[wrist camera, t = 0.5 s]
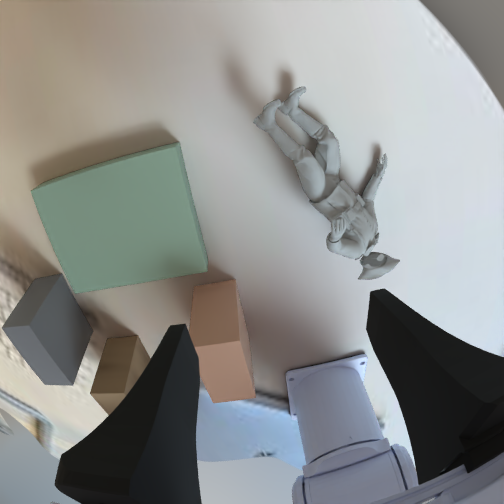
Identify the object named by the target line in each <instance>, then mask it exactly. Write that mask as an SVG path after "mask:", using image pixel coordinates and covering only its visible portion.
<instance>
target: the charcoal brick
mask: <svg viewBox="0 0 504 504" xmlns="http://www.w3.org/2000/svg"><path fill="white" fill-rule="evenodd" d="M2 329H3V330H4V332H5V333H6V335H7V336H8V338H9V339H10V340H11V342H12V343H13V345H14V346H15V347H16V349H17V350H18V351H19V353H20V354H21V356H22V357H23V358H24V359H25V361H26V362H27V363H28V365H29V366H30V367H31V368H32V370H33V371H34V372H35V373H36V375H37V376H38V377H39V378H40V379H41V381H42V382H43V383H44V384H45V385H73V384H74V381H75V378H76V376H77V373H78V370H79V367H80V364H81V362H82V359H83V356H84V354H85V351H86V348H87V346H88V343H89V340H90V338H91V335H92V333H93V330H92V328H91V327H90V325H89V323H88V322H87V320H86V318H85V316H84V315H83V313H82V311H81V309H80V307H79V306H78V304H77V302H76V300H75V298H74V296H73V294H72V292H71V290H70V289H69V287H68V285H67V283H66V281H65V279H64V277H63V275H62V274H57V275H52V276H47V277H42V278H37V279H35V280H34V281H33V283H32V284H31V285H30V287H29V288H28V290H27V291H26V292H25V294H24V295H23V297H22V298H21V300H20V301H19V303H18V304H17V305H16V307H15V308H14V310H13V311H12V313H11V314H10V316H9V318H8V319H7V321H6V322H5V324H4V325H3V327H2Z"/></svg>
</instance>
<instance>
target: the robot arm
mask: <svg viewBox="0 0 504 504" xmlns="http://www.w3.org/2000/svg"><path fill="white" fill-rule="evenodd" d="M366 330H367V333H368V336H369V339H370V342H371V344H372V347H373V350H374V352H375V354H376V356H377V358H378V360H379V362H380V364H381V366H382V368H383V370H384V372H385V374H386V376H387V378H388V380H389V382H390V384H391V386H392V388H393V390H394V392H395V395H396V397H397V399H398V402H399V405H400V408H401V411H402V414H403V417H404V420H405V424H406V427H407V431H408V434H409V438H410V442H411V446H412V451H413V455H414V460H415V466H416V470H415V467H414V464H413V462H412V459H411V457H410V455H409V453H408V451H407V450H406V448H405V447H403V446H400V445H399V444H394V445H392V446H391V447H390V444H389V442H388V439H387V438H384V437H383V434H382V431H381V428H380V426H379V423H378V420H377V418H376V415H375V412H374V410H373V407H372V405H371V402H370V399H369V397H368V394H367V392H366V389H365V386H364V384H363V382H364V377H365V371H366V366H367V360H368V357H367V355H366V354H361V355H358V356H354V357H350V358H346V359H342V360H337V361H333V362H329V363H324V364H320V365H315V366H311V367H306V368H301V369H296V370H291V371H288V372H287V373H286V383H287V390H288V397H289V405H290V413H291V419H292V420H298V425H299V430H300V434H301V439H302V444H303V449H304V454H305V459H306V464H307V465H304V466H302V468H303V473H304V475H302V476H298V477H297V479H296V482H295V483H294V485H293V488H292V500H293V504H422V503H423V502H425V501H427V500H430V499H432V498H434V497H435V499H434V500H432V501H430V502H428V503H426V504H504V357H501V356H498V355H495V354H492V353H489V352H487V351H484V350H482V349H479V348H477V347H475V346H472V345H470V344H468V343H466V342H464V341H462V340H460V339H458V338H456V337H455V336H453V335H451V334H449V333H447V332H446V331H444V330H442V329H441V328H439V327H438V326H436V325H435V324H433V323H431V322H430V321H428V320H427V319H426V318H424V317H423V316H421V315H420V314H418V313H417V312H416V311H414V310H413V309H412V308H410V307H409V306H407V305H406V304H405V303H403V302H402V301H401V300H399V299H398V298H397V297H395V296H394V295H393V294H391V293H390V292H389V291H387V290H386V289H380V290H375V291H371V292H370V301H369V310H368V318H367V326H366ZM199 386H200V370H199V358H198V355H197V352H196V350H195V347H194V345H193V342H192V340H191V337H190V335H189V332H188V329H187V327H186V324H179V325H171V326H170V327H169V328H168V330H167V332H166V334H165V335H164V337H163V339H162V341H161V343H160V344H159V346H158V348H157V350H156V351H155V353H154V355H153V356H152V358H151V360H150V361H149V363H148V365H147V366H146V368H145V369H144V371H143V372H142V374H141V375H140V377H139V378H138V380H137V381H136V383H135V384H134V386H133V387H132V389H131V390H130V391H129V393H128V394H127V395H126V396H125V398H124V399H123V400H122V401H121V403H120V404H119V405H118V406H117V407H116V408H115V409H114V411H113V412H112V413H111V414H110V415H109V416H108V417H107V418H106V419H105V420H104V421H103V422H102V423H101V424H100V425H99V426H98V427H97V428H96V429H95V430H93V431H92V432H91V433H90V434H89V435H88V436H86V437H85V438H84V439H83V440H81V441H80V442H79V443H77V444H76V445H75V446H73V447H72V448H71V449H69V450H68V451H66V452H65V453H63V454H62V455H61V458H60V462H59V466H58V470H57V475H56V479H55V486H56V488H57V489H58V490H59V491H61V492H62V493H64V494H65V495H67V496H69V497H71V498H72V499H74V500H76V501H78V502H80V503H81V504H202V503H201V496H200V487H199V479H198V468H197V453H196V423H197V411H198V399H199ZM416 472H417V473H416ZM50 504H58V503H55V502H51V503H50Z"/></svg>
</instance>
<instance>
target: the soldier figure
mask: <svg viewBox="0 0 504 504" xmlns="http://www.w3.org/2000/svg"><path fill="white" fill-rule="evenodd" d="M305 92H306V87H299V88H297V89H295V90H293V91H292V92H291V93H290V95H289V98H288V99H287V100H285V101H283V102H282V103H281V101H280V99H277V100H274V101H272V102H270V103H268V104H267V105H266V106H265V107H264V108H263V113H262V114H260V115H259V116H258V117H256V118H255V120H254V121H253V123H255V124H256V125H257V127H259V128H261V129H262V130H264V131H266V132H268V133H269V135H270V136H271V137H272V138H273V140H274V141H275V142H276V143H277V145H278V146H279V147H280V149H281V150H282V151H283V153H284V154H285V155H286V156H288V157H289V158H290V159H293V162H294V165H295V166H296V168H297V173H298V176H299V178H300V181H301V184H302V187H303V190H304V192H305V193H306V194H307V196H308V197H309V199H310V200H309V202H310V203H311V204H312V205H313V206H314V207H315V208H316V209H317V210H318V211H319V212H320V213H322V214H323V215H324V216H325V217H326V218H327V219H328V220H329V221H330V222H331V226H332V232H331V233H329V234H328V236H327V240H326V243H327V244H326V245H327V248H328V249H329V251H331V252H334V253H336V254H339V255H342V256H344V257H348V258H352V259H355V260H357V259H359V258H360V257H361V256H362V255H363V257H362V258H361V260H360V263H361V265H362V266H363V271H362V273H361V275H360V276H359V278H358V279H359V280H371V279H376V278H379V277H381V276H383V275H384V274H386V273H388V272H390V271H391V270H392V269H394V267H395V266H396V265H397V264H398V263H399V262H400V260H398V259H394V258H392V257H390V256H388V255H386V254H383V253H378V252H371V251H372V249H373V247H374V246H375V244H376V243H378V242H377V241H378V238H379V233H377V230H378V224H377V219H376V215H375V211H374V202H373V200H374V198H375V195H376V192H377V189H378V187H379V185H380V182H381V181H382V177H383V175H384V172H385V169H386V168H387V156H386V154H385V155H384V159H383V157H382V163H383V164H380V162H379V159H377V164H378V167H377V168H378V171H377V174H373V175H372V177H371V180H370V181H369V183H368V184H367V186H366V188H365V190H364V192H363V194H362V197H361V196H360V195H359V194H357V193H356V194H355V193H354V191H353V190H352V189H351V188H350V187H349V186H348V185H347V183H346V182H345V180H340V179H339V176H338V173H339V168H340V149H339V142H338V140H337V139H336V138H335V136H334V134H333V132H331V131H330V130H329V128H328V126H326V125H322V124H321V123H319V122H318V121H316V120H315V119H313V118H312V117H310V116H309V115H308V114H306V113H305V112H304V111H303V110H301V109H300V108H299V107H298V105H299V98H300V96H301V95H302V94H303V93H305ZM277 108H278V109H279V110H281V112H282V113H284V114H285V115H287V114H288V115H289V116H290V118H291V119H292V120H293V121H294V122H295V123H297V124H298V125H299V126H300V127H301V128H302V129H303V130H304V131H306V132H307V133H308V134H309V135H310V136H311V137H312V138H315V139H317V141H318V144H317V148H316V150H315V158H314V156H313V155H312V154H311V152H310V151H309V150H307V149H305V147H304V146H303V145H299V144H298V143H296V142H295V141H294V140H293V139H292V138H291V137H290V136H289V135H287V134H286V132H285V131H284V130H282V129H281V128H280V127H278V125H277V123H276V121H275V111H276V109H277ZM384 160H385V161H384ZM325 170H326V171H325ZM324 172H325V173H324ZM334 225H335V227H336V229H335V227H334ZM376 233H377V234H376ZM375 235H376V236H375Z"/></svg>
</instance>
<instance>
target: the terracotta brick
mask: <svg viewBox="0 0 504 504" xmlns="http://www.w3.org/2000/svg"><path fill="white" fill-rule="evenodd" d="M189 335H190V337H191V340H192V342H193V345H194V347H195V350H196V352H197V355H198V358H199V370H200V376H201V378H202V381H203V383H204V385H205V387H206V389H207V391H208V393H209V395H210V397H211V399H212V402H213V403H219V402H228V401H236V400H243V399H250V398H256V394H255V386H254V377H253V368H252V359H251V350H250V341H249V335H248V331H247V327H246V323H245V318H244V314H243V310H242V305H241V301H240V297H239V292H238V288H237V284H236V279H234V280H228V281H222V282H216V283H211V284H205V285H199V286H194V291H193V300H192V309H191V319H190V329H189Z"/></svg>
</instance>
